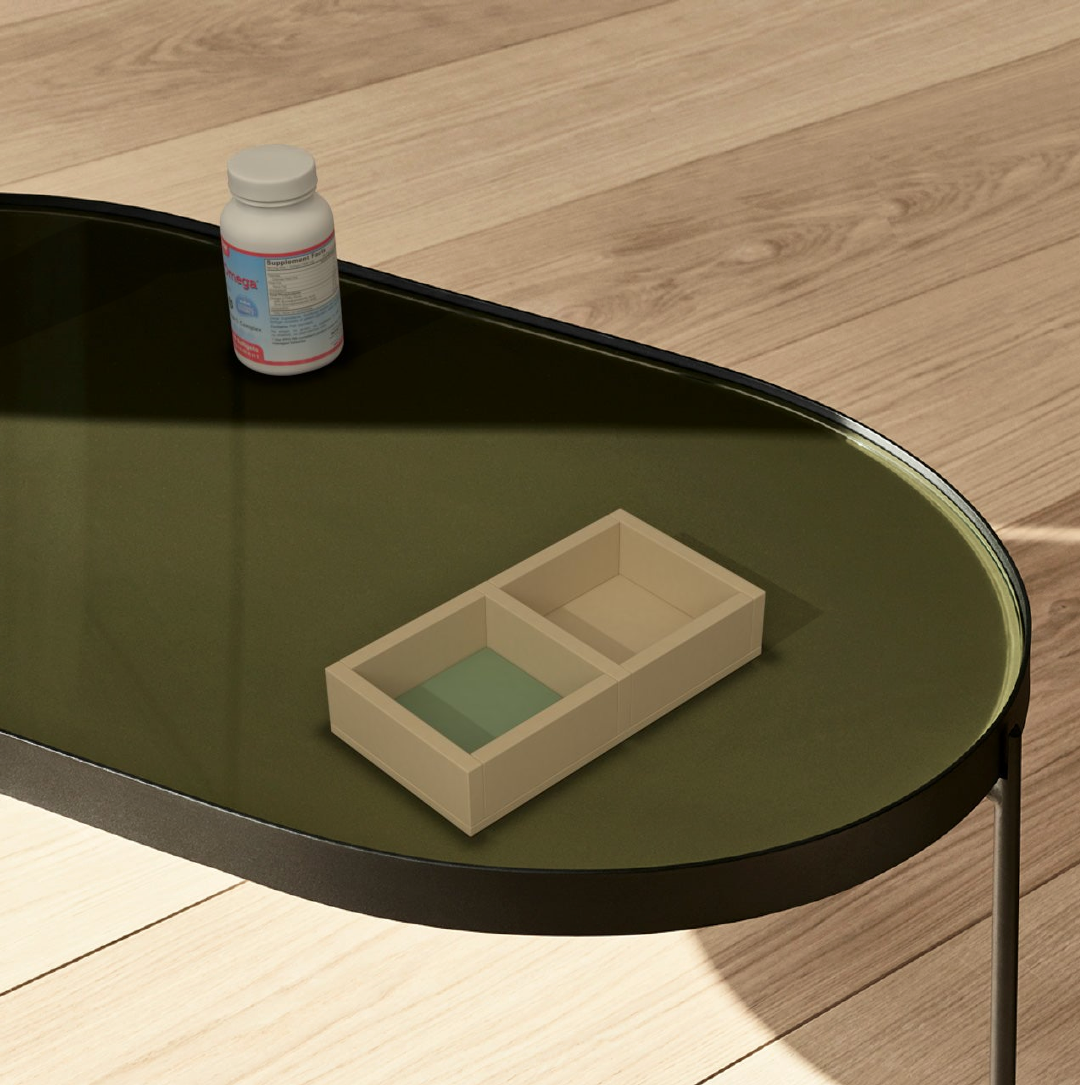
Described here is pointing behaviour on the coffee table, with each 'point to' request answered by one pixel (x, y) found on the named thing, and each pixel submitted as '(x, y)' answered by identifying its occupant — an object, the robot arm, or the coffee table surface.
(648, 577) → the holder
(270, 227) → the pill bottle
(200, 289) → the coffee table surface
